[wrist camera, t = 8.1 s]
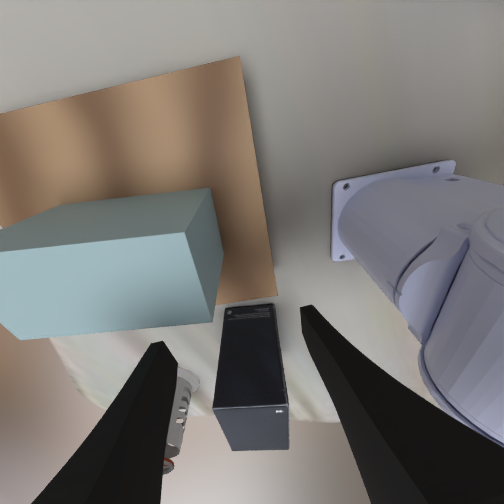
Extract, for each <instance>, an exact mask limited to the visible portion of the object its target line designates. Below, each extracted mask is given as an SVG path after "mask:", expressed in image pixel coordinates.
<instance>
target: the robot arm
mask: <svg viewBox="0 0 504 504" xmlns="http://www.w3.org/2000/svg"><path fill="white" fill-rule="evenodd" d="M455 166H456V162H455V161H453V160H445V161H440V162H435V163H429V164H424V165H419V166H414V167H408V168H403V169H398V170H393V171H387V172H382V173H377V174H372V175H366V176H361V177H356V178H351V179H345V180H340V181H337V182H336V183H334V185H333V193H332V232H331V259H332V260H333V261H334V262H338V261H344V260H350V259H356V260H357V261H358V263H359V264H360V265H361V266H362V267H363V269H364V270H365V271H366V272H367V273H368V275H369V276H370V277H371V278H372V279H373V281H374V282H375V283H376V284H377V285H378V287H379V288H380V289H381V290H382V291H383V293H384V294H385V295H386V296H387V297H388V299H389V300H390V301H391V302H392V304H393V305H394V306H395V307H396V308H397V309H398V310H399V312H400V313H401V314H402V316H403V317H404V318H405V319H406V320H407V321H408V329H409V330H410V331H411V332H412V333H413V335H414V336H415V337H416V338H417V340H418V341H419V342H420V343H421V344H422V346H421V348H420V350H419V354H418V366H419V370H420V375H421V377H422V379H423V382H424V384H425V386H426V387H427V389H428V391H429V392H430V394H431V395H432V397H433V398H434V399H435V401H436V402H437V403H438V405H439V406H440V407H441V408H442V409H443V410H444V411H445V412H446V413H445V412H444V411H442V410H440V409H439V408H437V407H436V406H434V405H433V404H431V403H430V402H428V401H427V400H425V399H424V398H422V397H421V396H419V395H418V394H416V393H415V392H413V391H412V390H410V389H409V388H407V387H406V386H404V385H403V384H401V383H400V382H399V381H397V380H396V379H395V378H393V377H392V376H391V375H389V374H388V373H386V372H385V371H384V370H383V369H381V368H380V367H379V366H377V365H376V364H375V363H374V362H372V361H371V360H370V359H369V358H367V357H366V356H365V355H364V354H363V353H361V352H360V351H359V350H358V349H357V348H356V347H354V346H353V345H352V344H351V343H350V342H349V341H348V340H347V339H345V338H344V337H343V336H342V335H341V334H340V333H339V332H338V331H337V330H336V329H335V328H334V327H333V326H332V325H331V324H330V323H329V322H328V321H327V320H326V319H325V318H324V317H323V316H322V315H321V314H320V313H319V312H318V310H317V309H316V308H315V307H314V306H313V305H308V306H304V307H300V314H301V326H302V334H303V336H304V339H305V342H306V345H307V348H308V350H309V353H310V355H311V357H312V359H313V361H314V363H315V365H316V367H317V370H318V372H319V374H320V376H321V378H322V380H323V382H324V384H325V386H326V388H327V390H328V393H329V395H330V397H331V399H332V401H333V403H334V406H335V408H336V411H337V413H338V416H339V418H340V421H341V423H342V426H343V429H344V431H345V434H346V436H347V439H348V442H349V444H350V447H351V450H352V452H353V455H354V458H355V460H356V463H357V466H358V469H359V471H360V474H361V477H362V479H363V482H364V485H365V487H366V490H367V493H368V496H369V499H370V502H371V504H504V185H500V184H495V183H491V182H487V181H482V180H478V179H473V178H469V177H465V176H460V175H456V174H453V173H454V169H455ZM435 167H436V169H435V170H434V171H433V169H434V168H435ZM345 184H348V186H347V187H346V188H345V189H343V186H344V185H345ZM341 255H343V256H342V257H340V256H341ZM177 370H178V362H177V361H176V360H175V358H174V357H173V355H172V354H171V352H170V351H169V349H168V348H167V346H166V345H165V343H164V342H163V341H160V342H155V343H151V345H150V346H149V348H148V349H147V351H146V352H145V354H144V355H143V357H142V358H141V360H140V361H139V363H138V365H137V366H136V368H135V369H134V371H133V372H132V374H131V375H130V377H129V379H128V380H127V382H126V383H125V385H124V386H123V388H122V389H121V391H120V392H119V394H118V395H117V397H116V398H115V399H114V401H113V402H112V404H111V405H110V407H109V408H108V409H107V411H106V412H105V414H104V415H103V417H102V418H101V419H100V421H99V422H98V423H97V425H96V426H95V428H94V429H93V430H92V432H91V433H90V434H89V435H88V437H87V438H86V439H85V441H84V442H83V443H82V444H81V446H80V447H79V448H78V449H77V451H76V452H75V453H74V454H73V456H72V457H71V458H70V459H69V460H68V462H67V463H66V464H65V465H64V466H63V467H62V469H61V470H60V471H59V472H58V473H57V475H56V476H55V477H54V478H53V480H51V482H50V483H49V484H48V485H47V486H46V487H45V489H44V490H43V491H42V492H41V493H40V494H39V496H38V497H37V498H36V499H35V500H34V501H33V502H32V503H31V504H160V501H161V488H162V476H163V466H164V456H165V448H166V441H167V435H168V430H169V424H170V419H171V413H172V408H173V402H174V397H175V391H176V385H177Z"/></svg>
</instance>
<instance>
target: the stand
mask: <svg viewBox="0 0 504 504" xmlns="http://www.w3.org/2000/svg"><path fill="white" fill-rule="evenodd" d="M202 188H210V189H211V193H212V198H213V203H214V208H215V213H216V217H217V222H218V227H219V232H220V236H221V241H222V246H223V251H224V256H223V262H222V268H221V274H220V280H219V286H218V292H217V297H216V303H215V305H220V304H226V303H233V302H239V301H245V300H252V299H258V298H265V297H271V296H278V294H277V287H276V281H275V275H274V268H273V262H272V256H271V249H270V243H269V237H268V231H267V224H266V218H265V212H264V205H263V199H262V193H261V186H260V180H259V174H258V168H257V161H256V155H255V149H254V142H253V136H252V130H251V123H250V117H249V111H248V105H247V98H246V92H245V86H244V79H243V73H242V67H241V60H240V56H237V57H233V58H229V59H225V60H221V61H217V62H213V63H208V64H204V65H200V66H196V67H192V68H188V69H184V70H180V71H175V72H171V73H167V74H163V75H159V76H155V77H151V78H147V79H143V80H138V81H134V82H130V83H126V84H122V85H118V86H114V87H110V88H105V89H101V90H97V91H93V92H89V93H85V94H81V95H77V96H72V97H68V98H64V99H60V100H56V101H52V102H48V103H44V104H39V105H35V106H31V107H27V108H23V109H19V110H15V111H11V112H6V113H2V114H0V225H1V226H2V227H3V228H6V227H8V226H11V225H13V224H15V223H18V222H20V221H22V220H25V219H27V218H30V217H32V216H34V215H37V214H39V213H41V212H44V211H46V210H49V209H51V208H53V207H56V206H58V205H62V204H71V203H80V202H88V201H97V200H106V199H115V198H123V197H132V196H141V195H150V194H158V193H167V192H176V191H185V190H193V189H202Z"/></svg>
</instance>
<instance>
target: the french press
mask: <svg viewBox="0 0 504 504" xmlns="http://www.w3.org/2000/svg"><path fill="white" fill-rule="evenodd" d="M199 384H200V382H199V380H198V378H197V376H195V375H194V374H193V373H191V372H190V371H188V370H185V369H182V368H179V367H178V370H177V385H176V391H175V397H174V402H173V408H172V413H171V419H170V424H169V430H168V435H167V441H166V448H165V456H164V466H163V475H164V474H167V473H169V472H171V471H172V470H173V469H174V463H173V461H172V460H170V459H169V458H172V457H175V456H177V455H178V454H179V452H180V448H181V444H182V439H183V433H184V429H185V428H184V429H183V426H184V425H185V423H186V419H187V418H186V415H187V413H188V409H189V407H188V405H189V404H190V399H191V394H192V393H193V392H195V391H196V390H197V389H198V387H199ZM179 409H186V412H185V413H184V412H181V411H179ZM182 418H183V420H184V422H183V423H180V424H178V423H176V420H177V419H182ZM167 443H170V444H172V445H174V447H173V446H170V445H168V444H167ZM175 446H177V447H175Z"/></svg>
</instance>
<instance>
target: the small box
mask: <svg viewBox="0 0 504 504" xmlns="http://www.w3.org/2000/svg"><path fill="white" fill-rule="evenodd" d="M212 410H213V412H214V414H215V416H216V418H217V420H218V422H219V424H220V426H221V428H222V430H223V432H224V434H225V436H226V439H227V441H228V443H229V445H230V447H231V449H232V451H245V450H246V451H247V450H288V449H289V402H288V394H287V388H286V382H285V375H284V368H283V362H282V355H281V348H280V342H279V335H278V328H277V319H276V311H275V305H263V306H252V307H238V308H229V309H225V314H224V322H223V330H222V338H221V346H220V354H219V362H218V370H217V377H216V385H215V393H214V401H213V407H212Z"/></svg>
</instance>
